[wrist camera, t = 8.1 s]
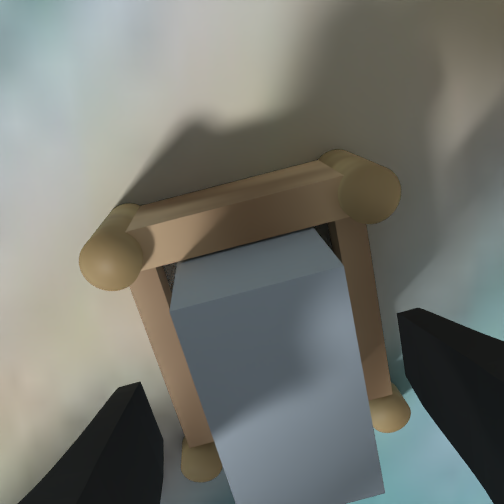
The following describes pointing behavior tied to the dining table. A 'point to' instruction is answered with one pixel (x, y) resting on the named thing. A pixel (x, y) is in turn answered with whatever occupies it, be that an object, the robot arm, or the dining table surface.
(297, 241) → the panel block
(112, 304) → the dining table surface
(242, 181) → the wooden frame
